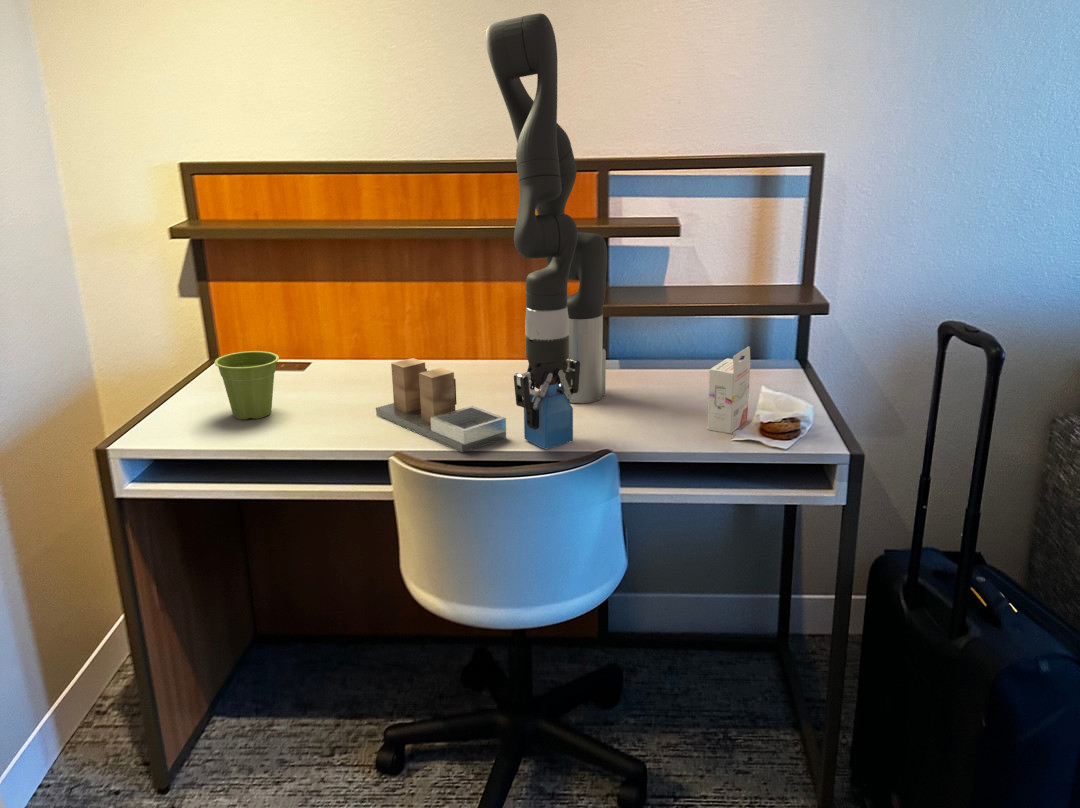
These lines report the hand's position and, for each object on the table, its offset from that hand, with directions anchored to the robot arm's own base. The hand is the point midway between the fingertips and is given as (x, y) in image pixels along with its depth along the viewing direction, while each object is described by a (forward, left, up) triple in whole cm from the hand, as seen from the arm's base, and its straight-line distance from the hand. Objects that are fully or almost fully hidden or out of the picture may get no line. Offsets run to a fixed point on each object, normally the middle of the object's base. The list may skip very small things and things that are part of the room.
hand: (548, 422), depth 169 cm
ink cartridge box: (-30, +17, -4) cm, 34 cm away
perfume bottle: (0, 0, -3) cm, 3 cm away
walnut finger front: (+9, -20, -2) cm, 22 cm away
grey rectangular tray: (+9, -20, -4) cm, 23 cm away
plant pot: (+31, -51, -4) cm, 60 cm away
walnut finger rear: (+9, -29, -2) cm, 31 cm away
